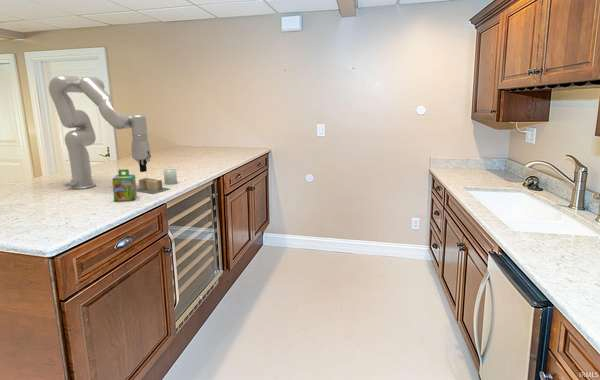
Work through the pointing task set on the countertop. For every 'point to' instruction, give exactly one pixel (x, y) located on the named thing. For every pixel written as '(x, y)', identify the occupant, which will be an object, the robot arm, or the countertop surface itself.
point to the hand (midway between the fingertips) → (143, 171)
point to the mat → (151, 191)
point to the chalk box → (124, 186)
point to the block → (150, 184)
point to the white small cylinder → (170, 176)
